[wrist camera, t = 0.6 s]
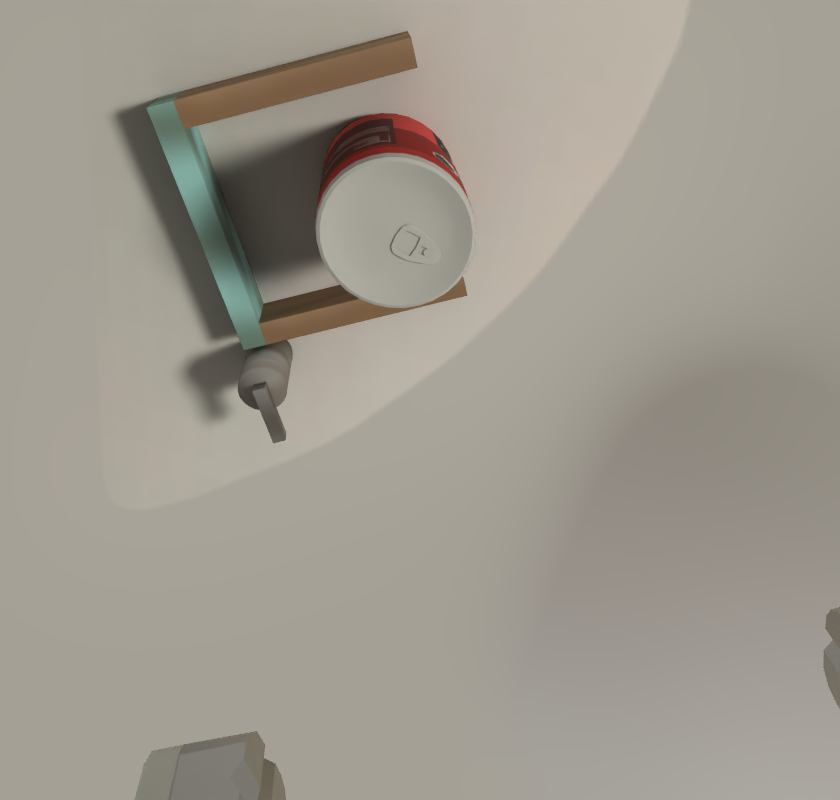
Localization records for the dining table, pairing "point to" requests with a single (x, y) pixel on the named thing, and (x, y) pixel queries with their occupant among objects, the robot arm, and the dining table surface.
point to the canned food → (393, 213)
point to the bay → (210, 216)
